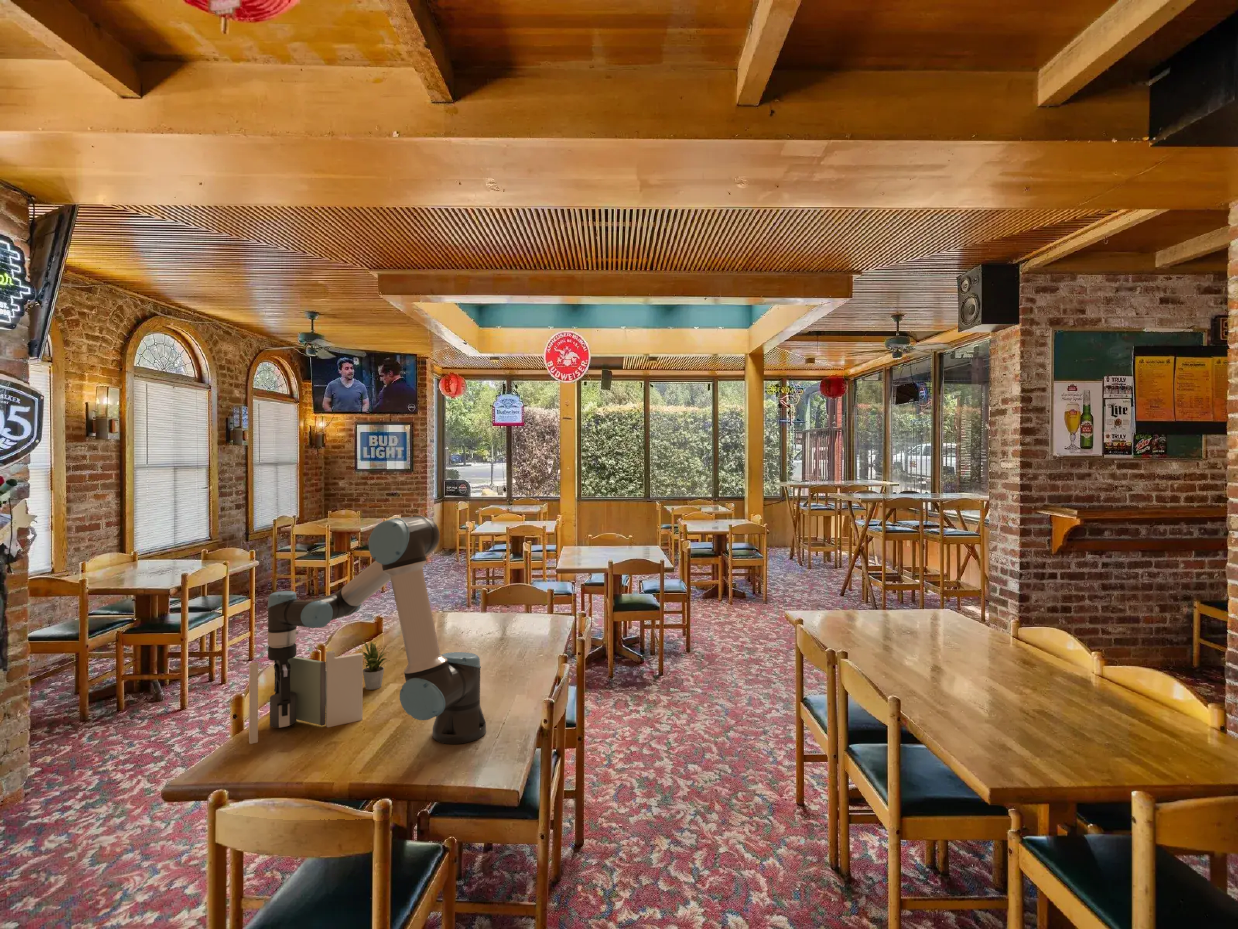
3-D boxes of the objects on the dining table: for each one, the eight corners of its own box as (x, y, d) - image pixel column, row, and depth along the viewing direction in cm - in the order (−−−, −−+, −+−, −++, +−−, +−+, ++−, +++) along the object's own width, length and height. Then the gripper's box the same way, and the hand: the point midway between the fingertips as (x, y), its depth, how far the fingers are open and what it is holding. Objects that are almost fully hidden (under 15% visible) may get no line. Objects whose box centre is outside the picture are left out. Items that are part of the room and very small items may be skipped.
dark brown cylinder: (297, 724, 188) (297, 697, 188) (270, 729, 185) (270, 701, 185) (295, 716, 194) (295, 690, 194) (269, 721, 191) (269, 694, 191)
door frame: (362, 720, 195) (362, 648, 195) (249, 744, 178) (249, 665, 178) (361, 717, 197) (361, 646, 197) (249, 741, 180) (249, 663, 180)
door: (322, 725, 189) (322, 663, 189) (282, 716, 196) (282, 656, 196) (326, 724, 190) (326, 662, 190) (286, 714, 197) (286, 654, 197)
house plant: (339, 688, 223) (339, 641, 223) (374, 677, 234) (374, 633, 234) (364, 697, 215) (364, 648, 215) (399, 685, 226) (399, 639, 226)
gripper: (301, 649, 184) (301, 730, 183) (291, 635, 200) (291, 709, 200) (272, 654, 179) (272, 736, 179) (263, 639, 196) (264, 714, 195)
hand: (282, 721), depth 189 cm, fingers closed on dark brown cylinder, 7 cm apart
